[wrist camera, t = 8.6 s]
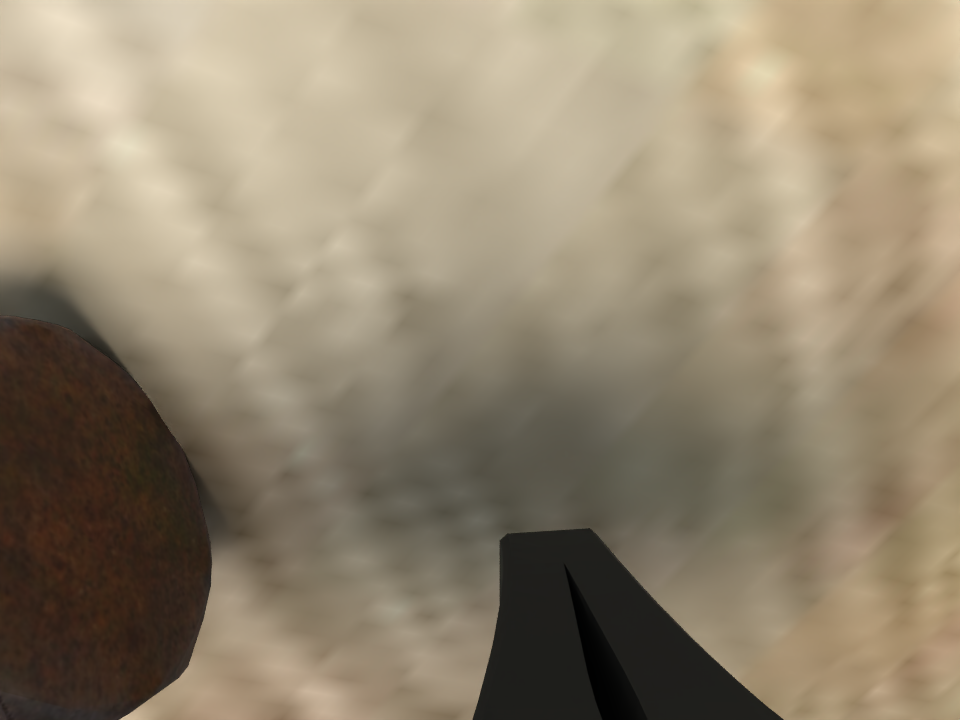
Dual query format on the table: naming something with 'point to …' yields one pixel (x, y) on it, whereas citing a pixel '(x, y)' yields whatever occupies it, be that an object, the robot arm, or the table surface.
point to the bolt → (90, 534)
